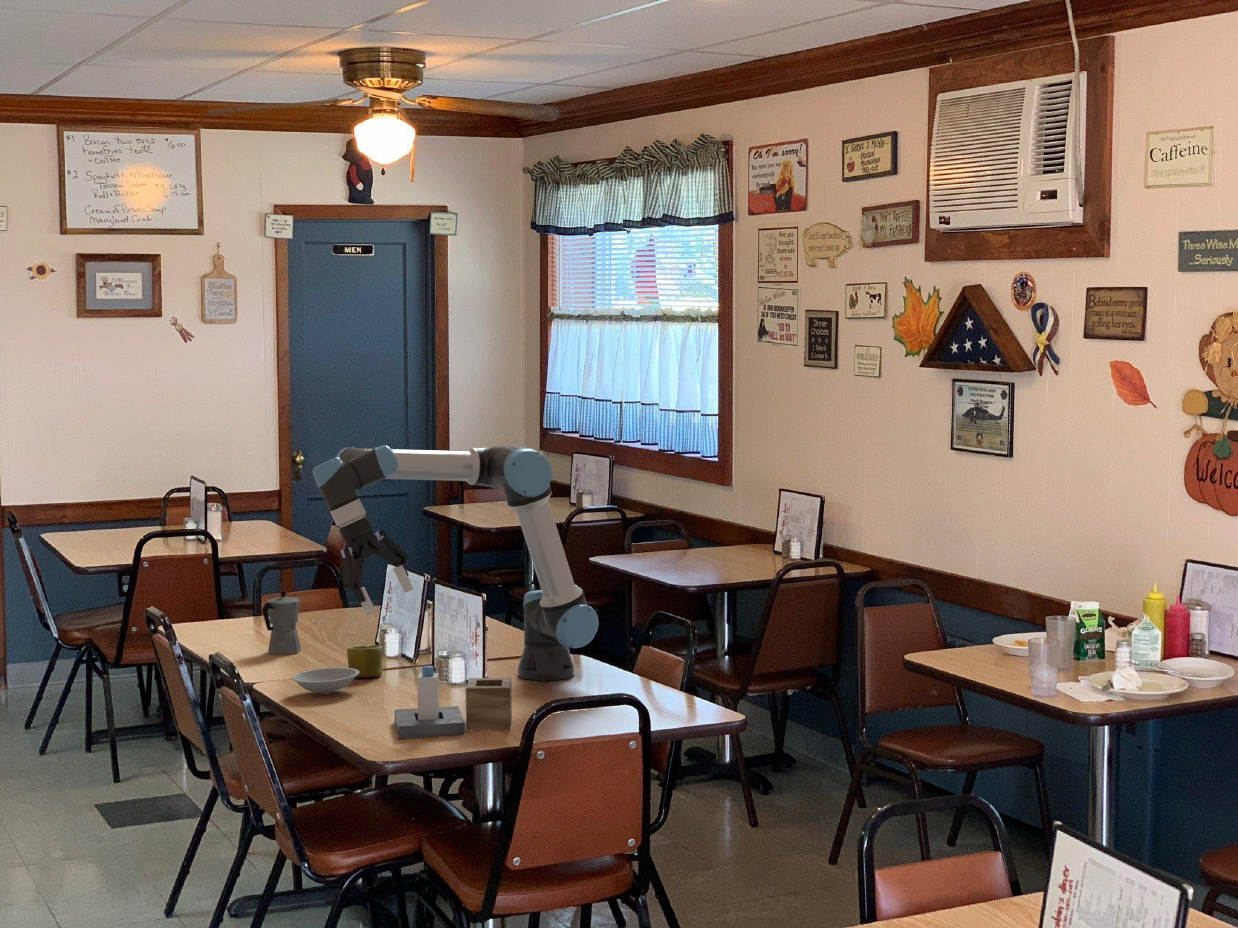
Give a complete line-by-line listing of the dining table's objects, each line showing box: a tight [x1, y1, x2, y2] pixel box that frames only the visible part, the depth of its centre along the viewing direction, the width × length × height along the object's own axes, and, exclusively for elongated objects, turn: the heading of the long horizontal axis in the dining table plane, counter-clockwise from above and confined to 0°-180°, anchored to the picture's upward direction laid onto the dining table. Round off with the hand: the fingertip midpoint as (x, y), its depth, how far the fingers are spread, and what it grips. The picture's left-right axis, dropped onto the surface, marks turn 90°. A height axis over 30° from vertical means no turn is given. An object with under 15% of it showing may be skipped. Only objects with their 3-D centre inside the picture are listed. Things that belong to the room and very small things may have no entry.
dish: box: [291, 666, 359, 695], centre depth 362 cm, size 18×14×5 cm
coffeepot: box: [261, 590, 302, 656], centre depth 409 cm, size 15×9×18 cm, turn 153°
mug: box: [346, 644, 384, 679], centre depth 382 cm, size 12×10×10 cm
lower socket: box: [394, 705, 466, 740], centre depth 329 cm, size 15×15×3 cm
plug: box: [416, 665, 440, 720], centre depth 328 cm, size 4×4×14 cm
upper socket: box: [465, 677, 513, 732], centre depth 331 cm, size 10×10×10 cm
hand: (390, 602), depth 338 cm, fingers open, 13 cm apart
